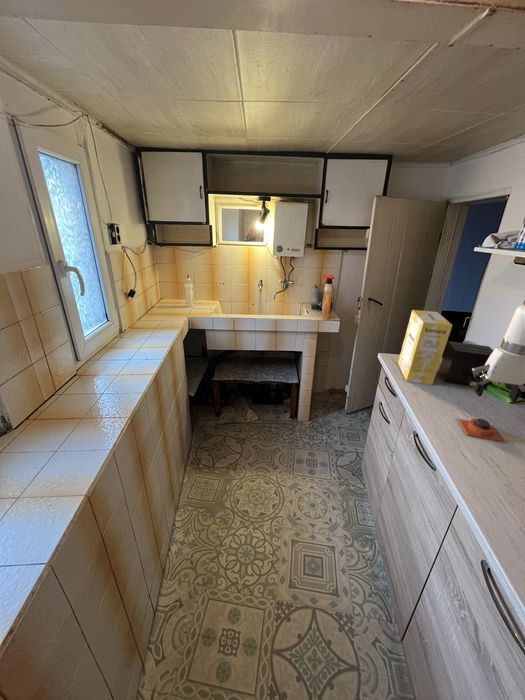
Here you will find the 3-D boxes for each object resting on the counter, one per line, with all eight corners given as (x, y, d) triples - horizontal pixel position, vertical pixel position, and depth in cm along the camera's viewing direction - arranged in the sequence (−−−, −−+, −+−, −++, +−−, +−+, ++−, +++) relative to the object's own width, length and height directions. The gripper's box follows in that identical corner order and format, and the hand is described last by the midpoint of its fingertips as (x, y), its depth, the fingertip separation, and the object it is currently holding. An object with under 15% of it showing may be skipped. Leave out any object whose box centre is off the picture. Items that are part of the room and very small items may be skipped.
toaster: (476, 377, 130) (489, 346, 123) (486, 390, 120) (500, 356, 113) (437, 371, 134) (448, 340, 127) (444, 383, 124) (456, 350, 117)
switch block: (490, 427, 97) (493, 421, 96) (501, 443, 90) (504, 436, 89) (458, 421, 100) (460, 415, 99) (466, 436, 93) (469, 429, 92)
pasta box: (397, 364, 140) (412, 309, 128) (420, 367, 138) (437, 312, 126) (405, 382, 124) (423, 322, 112) (431, 386, 122) (452, 325, 110)
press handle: (472, 379, 120) (473, 375, 119) (477, 386, 115) (479, 382, 114) (464, 378, 121) (465, 374, 120) (469, 385, 115) (471, 381, 115)
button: (485, 424, 95) (487, 419, 94) (489, 430, 92) (491, 426, 91) (473, 421, 96) (475, 417, 95) (477, 428, 93) (479, 424, 92)
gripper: (545, 347, 83) (520, 395, 90) (478, 338, 87) (459, 385, 95) (561, 357, 77) (533, 409, 84) (488, 347, 81) (467, 397, 88)
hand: (494, 396), depth 89 cm, fingers open, 9 cm apart
